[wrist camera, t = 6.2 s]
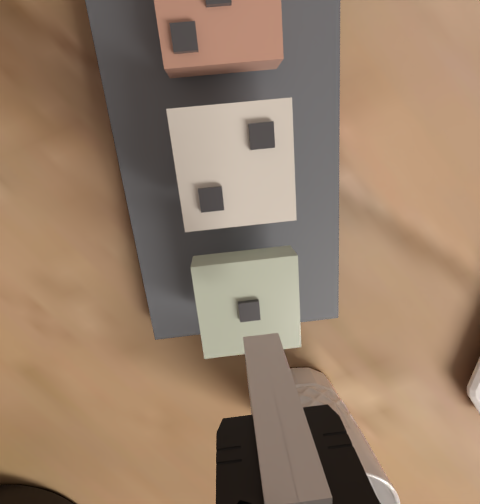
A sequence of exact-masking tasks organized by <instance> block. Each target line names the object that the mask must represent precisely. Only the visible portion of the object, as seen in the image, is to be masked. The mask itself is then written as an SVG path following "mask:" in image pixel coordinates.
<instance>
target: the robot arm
mask: <svg viewBox="0 0 480 504" xmlns="http://www.w3.org/2000/svg"><path fill="white" fill-rule="evenodd" d="M243 342H244V351H245V361H246V370H247V380H248V389H249V397H250V405H251V413H252V415H247V416H239V417H231V418H224V419H223V420H222V422H221V424H220V426H219V429H218V431H217V442H216V449H217V452H216V464H217V466H216V504H381V503H380V502H379V500H378V498H377V496H376V494H375V492H374V490H373V488H372V486H371V483H370V481H369V479H368V477H367V475H366V472H365V470H364V468H363V466H362V464H361V462H360V459H359V457H358V455H357V453H356V451H355V449H354V447H353V445H352V442H351V440H350V438H349V435H348V434H347V432H346V429H345V427H344V425H343V422H342V420H341V418H340V416H339V415H338V414H337V413H336V412H335V411H334V410H333V409H332V408H331V407H330V406H329V405H328V404H326V405H318V406H310V407H302V404H301V401H300V398H299V395H298V392H297V389H296V385H295V382H294V379H293V376H292V373H291V370H290V367H289V364H288V361H287V358H286V355H285V352H284V349H283V346H282V343H281V340H280V337H279V334H278V333H272V334H264V335H255V336H247V337H243ZM0 504H73V503H71V502H70V501H68V500H67V499H65V498H63V497H61V496H59V495H57V494H54V493H52V492H49V491H46V490H43V489H39V488H35V487H29V486H22V485H0Z"/></svg>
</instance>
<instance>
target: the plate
mask: <svg viewBox="0 0 480 504" xmlns="http://www.w3.org/2000/svg"><path fill="white" fill-rule="evenodd" d="M467 394H468V396H469V398H470V399H471V401H472V403H473V404H474V406H475V407H476V409H477V411H478V412H479V414H480V358H479V360H478V362H477V364H476V367H475V369H474V371H473V374H472V376H471V378H470V380H469V383H468V385H467Z"/></svg>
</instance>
